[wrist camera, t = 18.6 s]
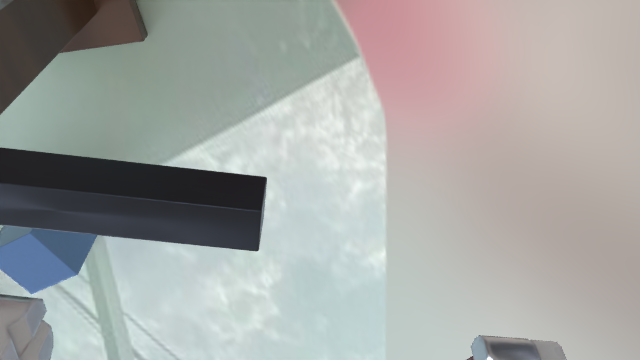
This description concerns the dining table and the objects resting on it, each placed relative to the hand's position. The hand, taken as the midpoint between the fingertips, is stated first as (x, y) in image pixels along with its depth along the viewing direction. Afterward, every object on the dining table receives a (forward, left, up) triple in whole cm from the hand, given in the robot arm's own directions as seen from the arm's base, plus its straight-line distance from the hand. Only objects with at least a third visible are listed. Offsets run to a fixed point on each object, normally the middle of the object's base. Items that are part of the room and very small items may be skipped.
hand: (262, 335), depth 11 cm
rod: (+12, +4, -14) cm, 19 cm away
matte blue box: (+30, +24, -37) cm, 53 cm away
